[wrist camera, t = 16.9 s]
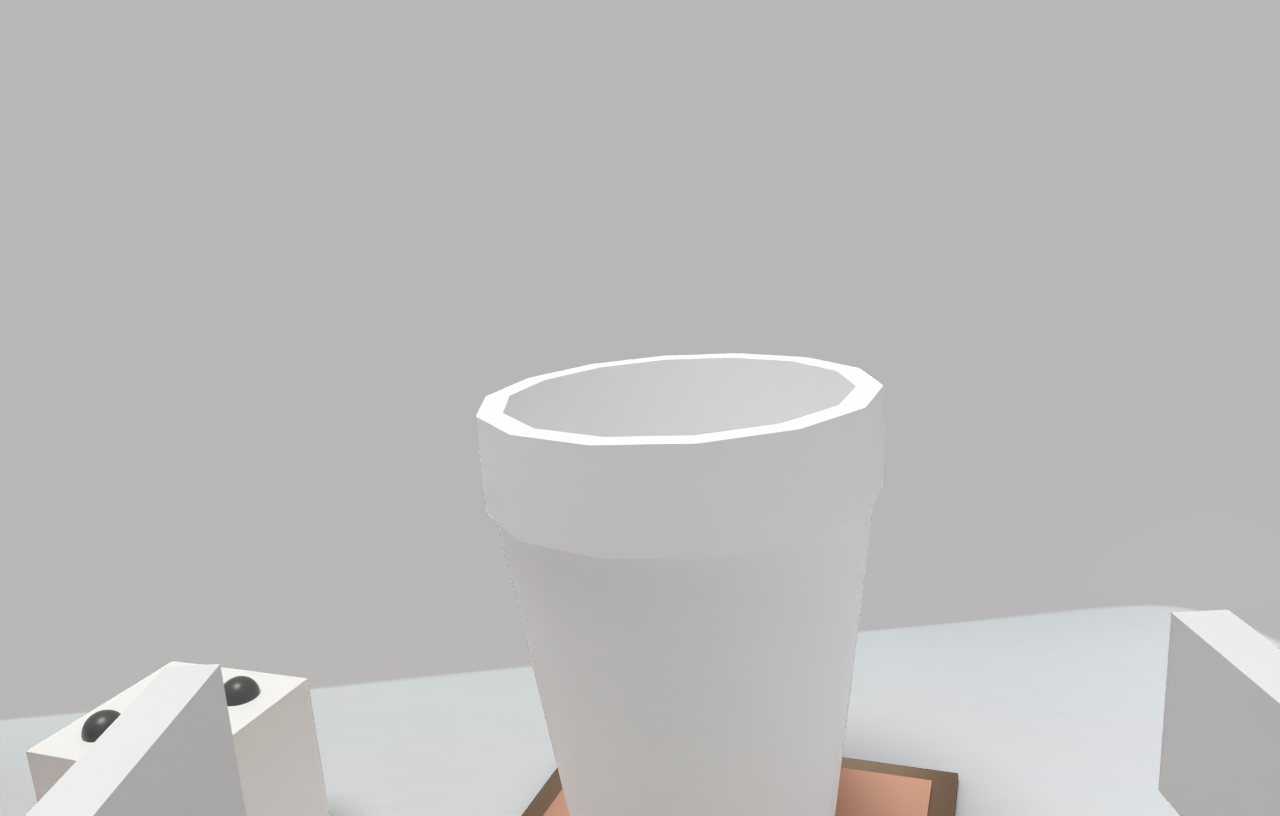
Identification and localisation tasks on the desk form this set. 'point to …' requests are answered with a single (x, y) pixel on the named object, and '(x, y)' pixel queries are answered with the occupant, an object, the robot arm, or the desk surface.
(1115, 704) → the desk surface
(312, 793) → the die
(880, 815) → the color swatch strip
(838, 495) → the foam cup
